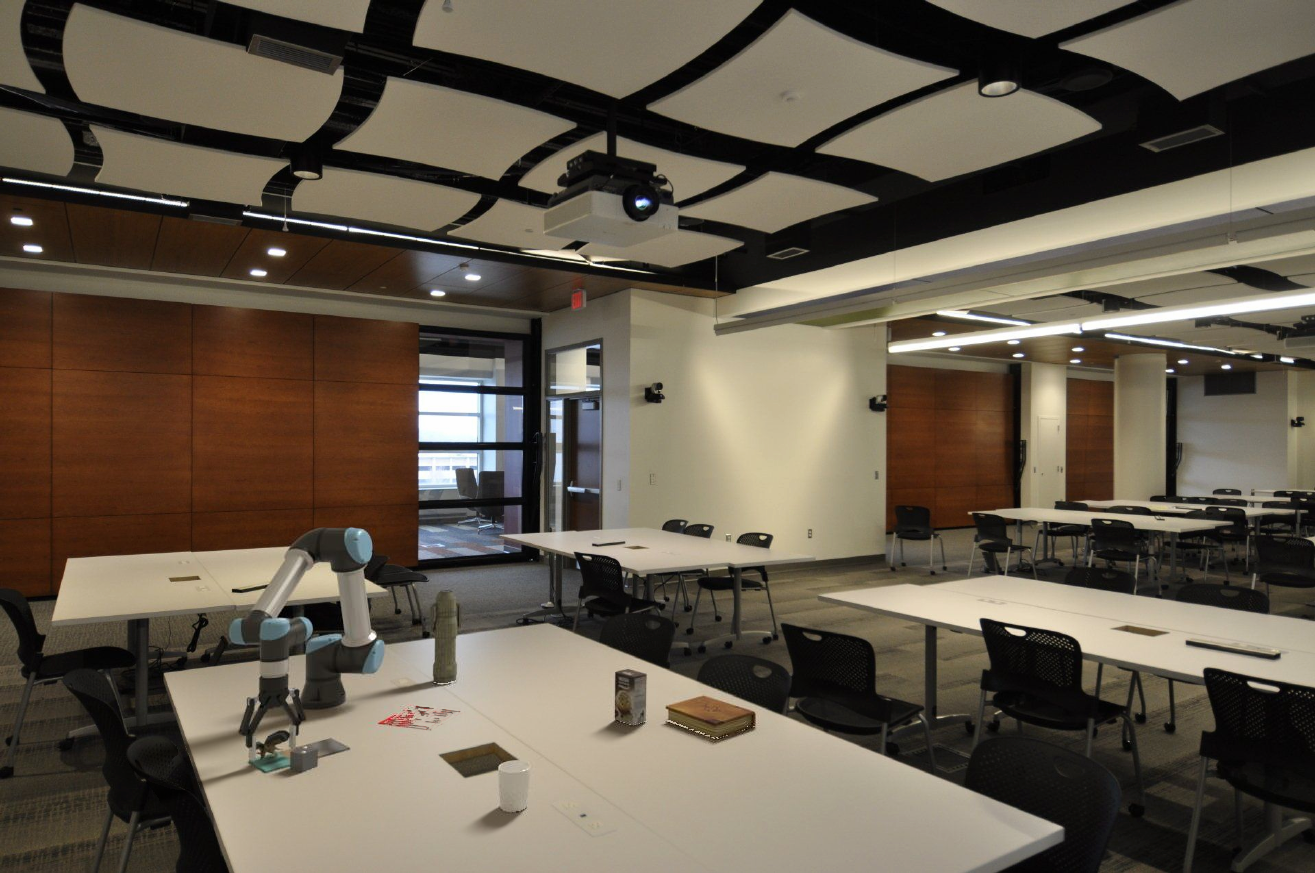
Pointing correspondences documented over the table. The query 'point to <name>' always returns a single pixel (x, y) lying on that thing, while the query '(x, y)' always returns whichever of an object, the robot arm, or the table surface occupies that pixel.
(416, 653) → the table surface
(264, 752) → the dark olive curved figure
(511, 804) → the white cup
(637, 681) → the coffee box
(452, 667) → the thermos
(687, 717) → the diary
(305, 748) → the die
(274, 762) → the track board
